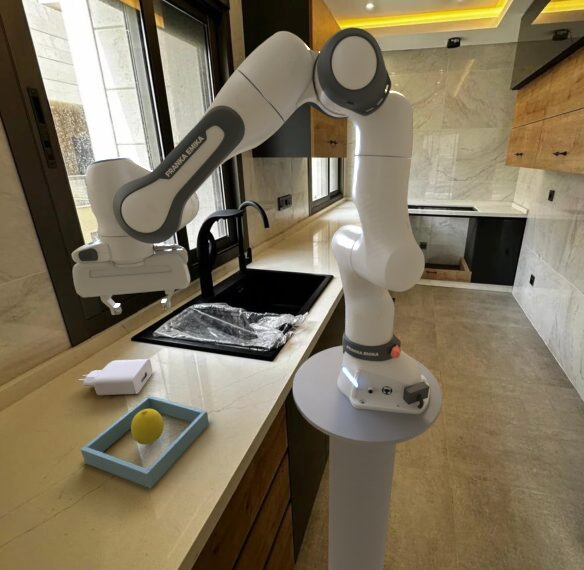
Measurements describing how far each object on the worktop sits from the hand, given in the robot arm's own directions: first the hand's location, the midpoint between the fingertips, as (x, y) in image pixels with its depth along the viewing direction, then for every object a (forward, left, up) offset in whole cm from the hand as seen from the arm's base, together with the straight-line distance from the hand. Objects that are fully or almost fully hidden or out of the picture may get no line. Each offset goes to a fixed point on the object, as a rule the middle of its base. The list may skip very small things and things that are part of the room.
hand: (142, 310), depth 69 cm
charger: (+15, 0, -24) cm, 28 cm away
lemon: (-8, +11, -24) cm, 27 cm away
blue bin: (-8, +11, -23) cm, 27 cm away
